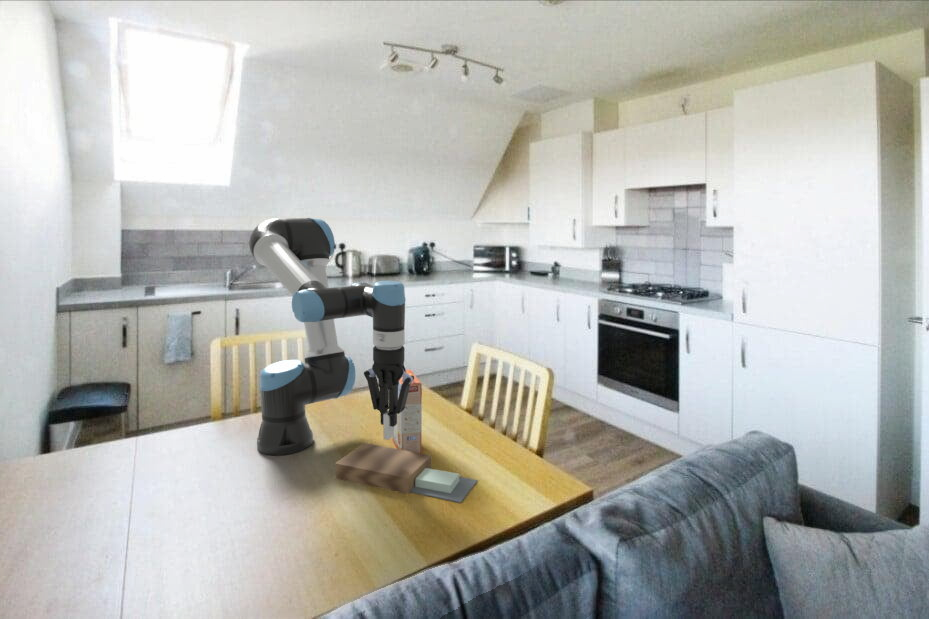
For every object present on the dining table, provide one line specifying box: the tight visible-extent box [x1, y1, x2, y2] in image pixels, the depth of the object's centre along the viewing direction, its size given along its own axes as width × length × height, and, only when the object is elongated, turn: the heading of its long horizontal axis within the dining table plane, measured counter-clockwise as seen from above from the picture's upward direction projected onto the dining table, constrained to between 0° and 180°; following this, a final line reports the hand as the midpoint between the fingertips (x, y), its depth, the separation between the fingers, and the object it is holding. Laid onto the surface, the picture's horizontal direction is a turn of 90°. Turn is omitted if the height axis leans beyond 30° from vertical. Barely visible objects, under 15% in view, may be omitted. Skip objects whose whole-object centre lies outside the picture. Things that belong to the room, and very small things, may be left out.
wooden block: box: [334, 442, 432, 495], centre depth 135 cm, size 20×13×4 cm, turn 69°
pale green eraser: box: [415, 468, 460, 493], centre depth 129 cm, size 9×6×2 cm, turn 71°
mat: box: [409, 475, 478, 504], centre depth 129 cm, size 13×11×1 cm
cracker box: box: [391, 369, 423, 454], centre depth 148 cm, size 14×6×21 cm, turn 18°
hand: (388, 437), depth 133 cm, fingers closed
